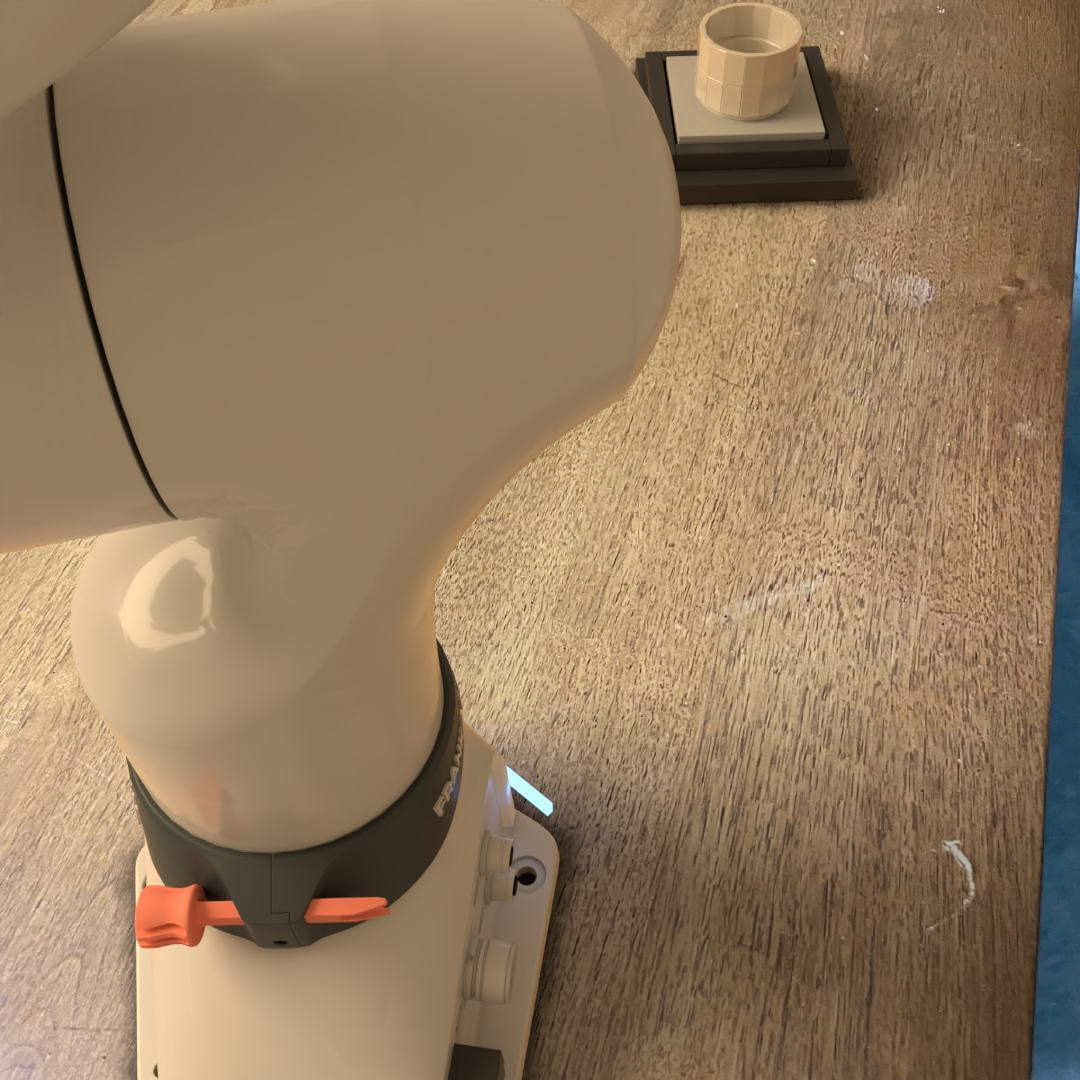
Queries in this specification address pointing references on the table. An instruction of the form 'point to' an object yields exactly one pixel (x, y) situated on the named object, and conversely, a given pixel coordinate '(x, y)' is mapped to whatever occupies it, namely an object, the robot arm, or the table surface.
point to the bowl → (747, 60)
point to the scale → (756, 150)
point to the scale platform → (707, 127)
